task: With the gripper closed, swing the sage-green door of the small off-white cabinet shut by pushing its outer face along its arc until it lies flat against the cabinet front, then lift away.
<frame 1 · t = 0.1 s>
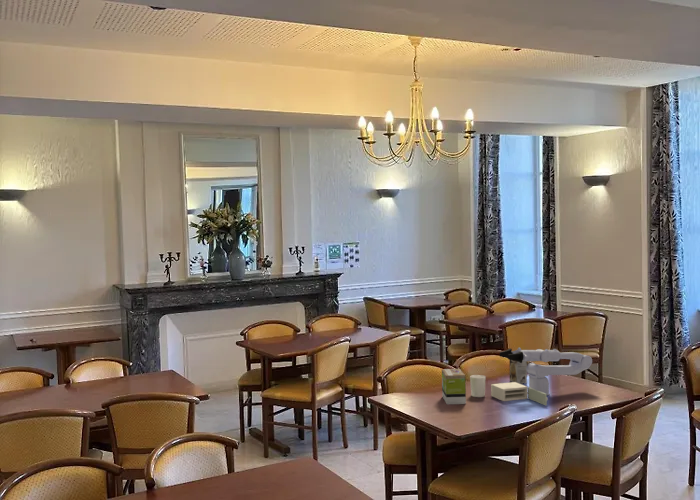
hand: (504, 355, 345), 22 cm above the table, tool horizontal, fingers open, 7 cm apart
door: (537, 396, 337), point 3 cm above the table, hinge at 90.0°
cabinet: (509, 397, 348), on the table
coffee box: (518, 382, 381), on the table
tea box: (453, 401, 343), on the table
white cup: (478, 396, 352), on the table
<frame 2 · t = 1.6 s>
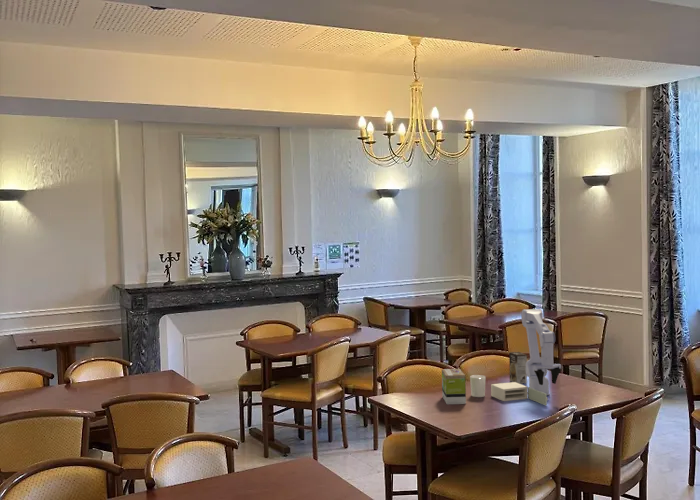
hand: (547, 383, 335), 9 cm above the table, tool pointing down, fingers open, 7 cm apart
nothing on the table moved.
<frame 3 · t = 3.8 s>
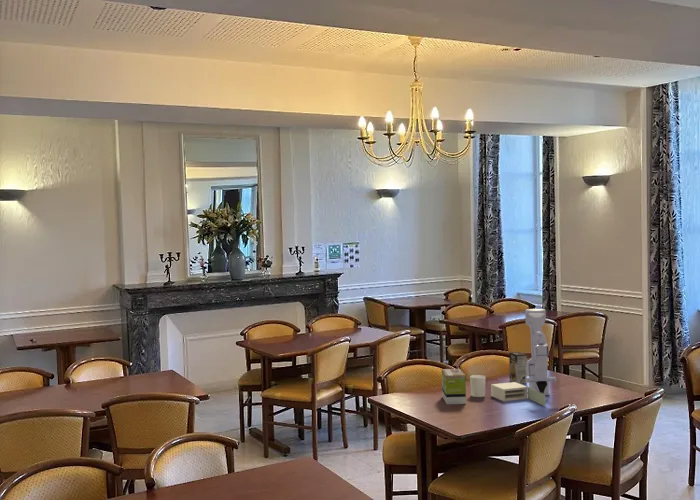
hand: (541, 396, 334), 3 cm above the table, tool pointing down, fingers closed
door: (537, 396, 337), point 3 cm above the table, hinge at 86.3°, touching gripper
everything else where it was.
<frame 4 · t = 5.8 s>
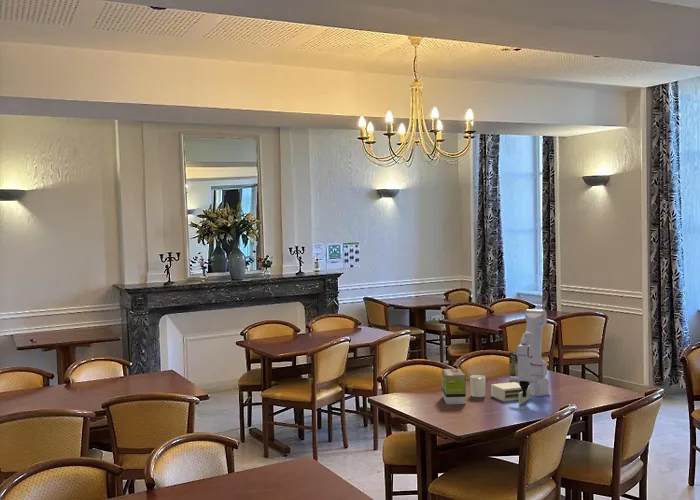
hand: (524, 396, 335), 3 cm above the table, tool pointing down, fingers closed
door: (525, 396, 337), point 3 cm above the table, hinge at 38.4°, touching gripper
everything else where it was.
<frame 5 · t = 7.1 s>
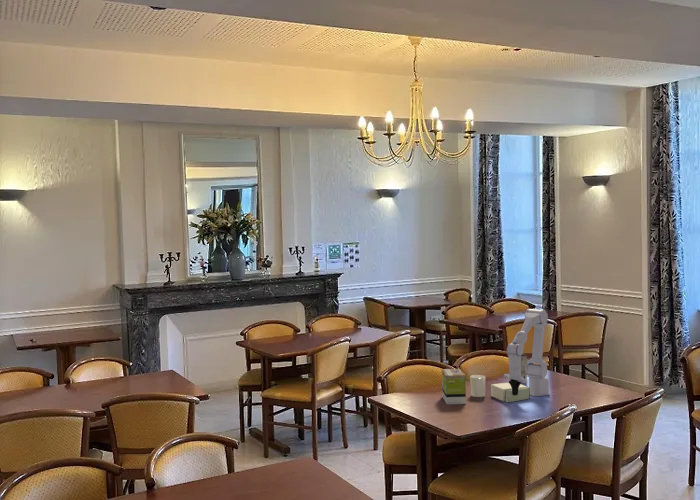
hand: (515, 395, 338), 3 cm above the table, tool pointing down, fingers closed, pressing on door
door: (518, 394, 340), point 3 cm above the table, hinge at 8.8°, touching gripper
everything else where it was.
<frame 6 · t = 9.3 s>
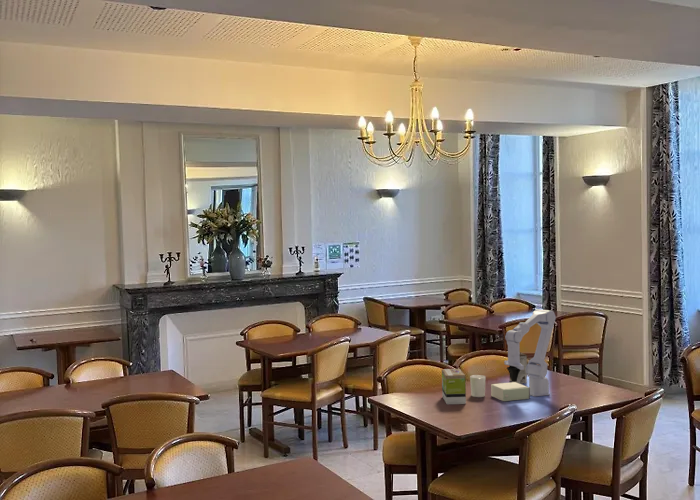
hand: (514, 381, 342), 9 cm above the table, tool pointing down, fingers closed
door: (517, 394, 341), point 3 cm above the table, hinge at -1.3°
everything else where it was.
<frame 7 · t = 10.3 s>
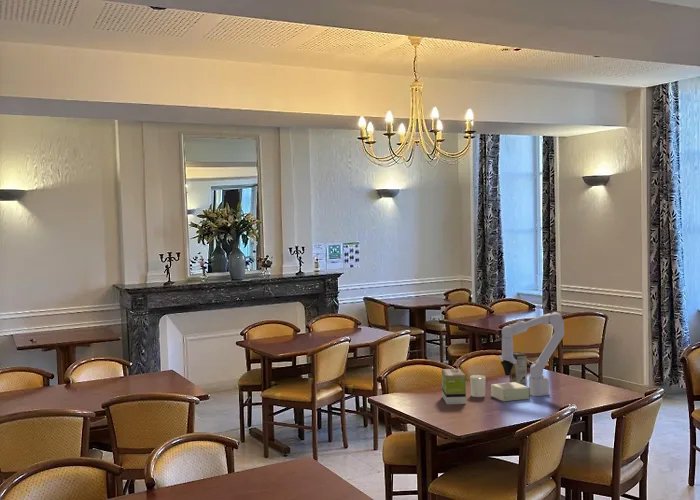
hand: (507, 375, 356), 9 cm above the table, tool pointing down, fingers closed
nothing on the table moved.
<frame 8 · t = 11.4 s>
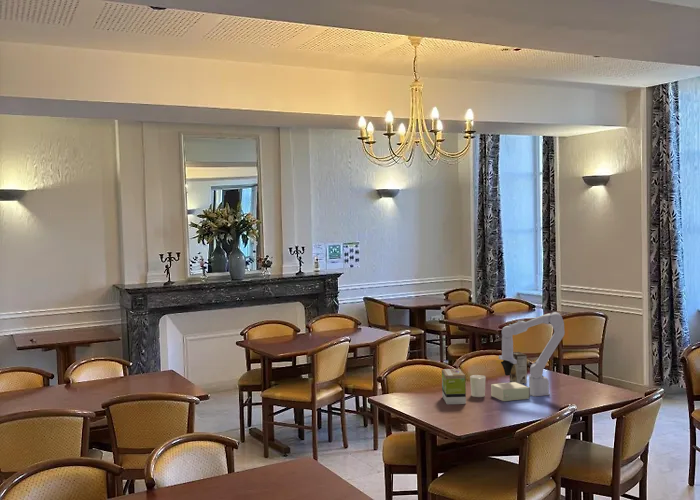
hand: (507, 375, 356), 9 cm above the table, tool pointing down, fingers closed
nothing on the table moved.
at the end: door at -1° (first picture: +90°) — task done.
